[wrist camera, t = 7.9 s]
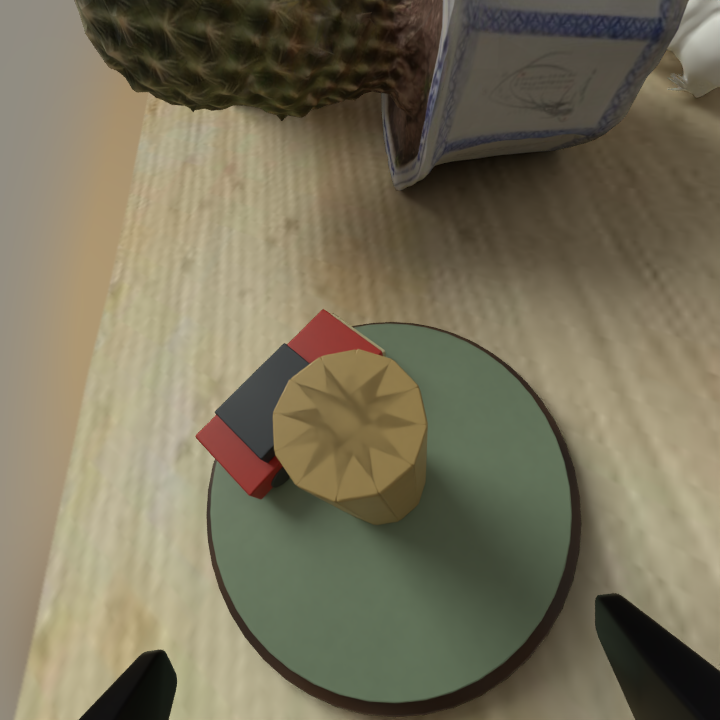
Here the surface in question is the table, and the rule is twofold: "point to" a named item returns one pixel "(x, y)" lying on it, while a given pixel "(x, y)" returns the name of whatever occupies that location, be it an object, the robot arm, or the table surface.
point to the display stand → (476, 687)
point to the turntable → (387, 509)
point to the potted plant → (400, 64)
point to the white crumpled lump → (698, 47)
